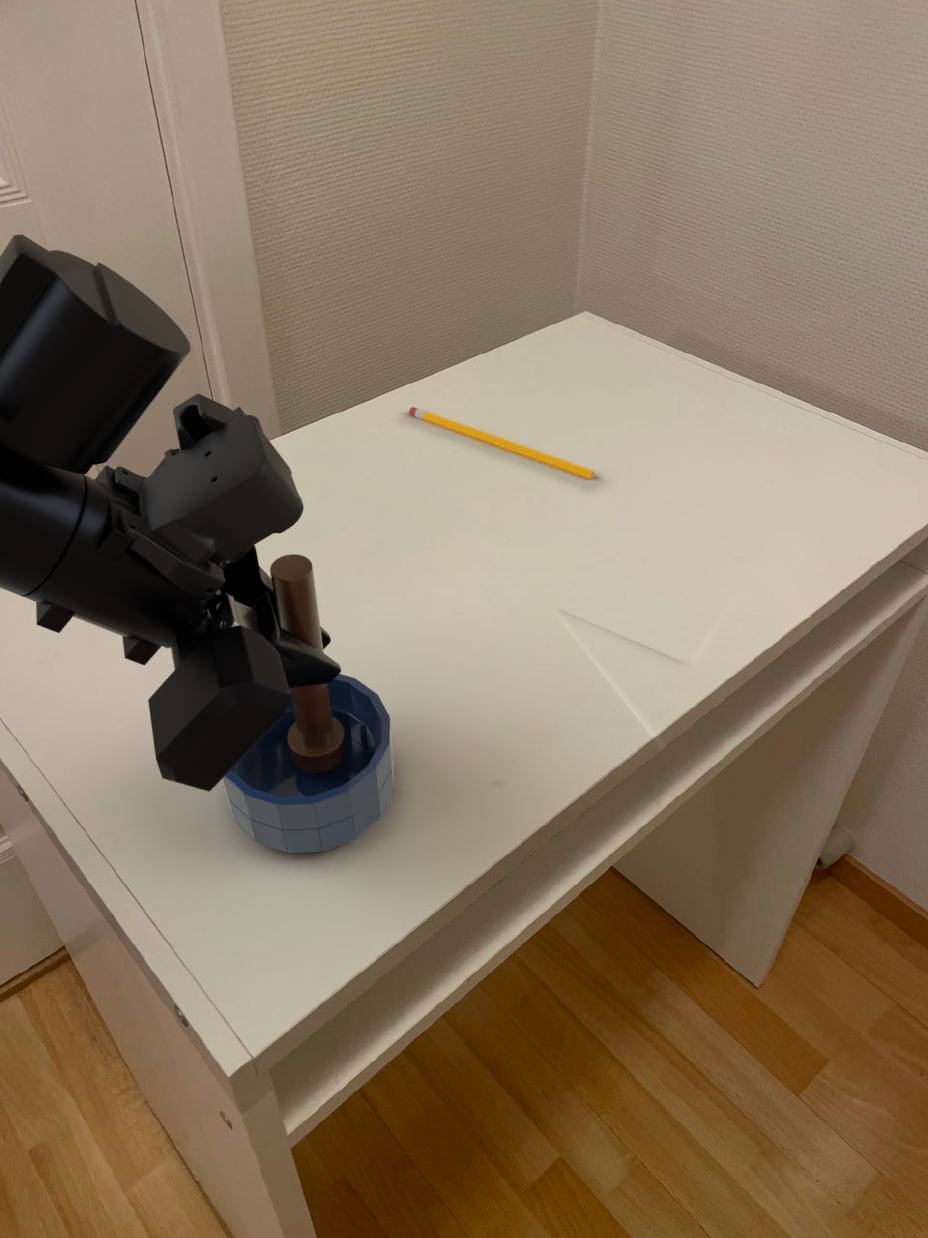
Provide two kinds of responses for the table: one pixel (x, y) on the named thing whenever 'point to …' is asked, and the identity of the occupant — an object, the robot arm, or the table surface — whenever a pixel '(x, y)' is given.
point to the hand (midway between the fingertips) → (330, 659)
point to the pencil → (502, 443)
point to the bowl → (316, 779)
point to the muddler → (315, 729)
